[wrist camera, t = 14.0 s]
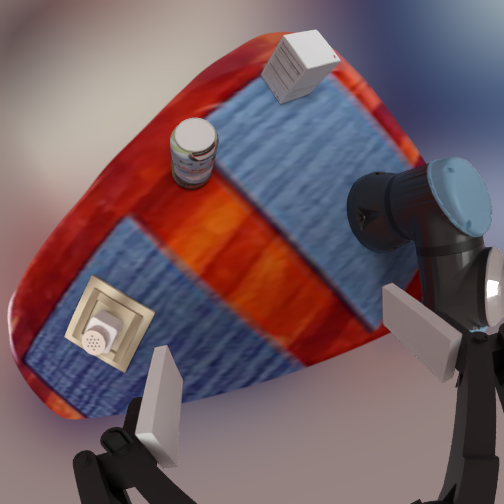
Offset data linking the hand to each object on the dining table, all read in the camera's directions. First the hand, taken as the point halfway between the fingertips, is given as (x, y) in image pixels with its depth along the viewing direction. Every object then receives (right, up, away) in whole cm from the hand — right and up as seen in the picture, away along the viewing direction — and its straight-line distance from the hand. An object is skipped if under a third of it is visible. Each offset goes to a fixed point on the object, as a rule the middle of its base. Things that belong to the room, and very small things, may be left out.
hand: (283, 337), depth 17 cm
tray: (-23, -6, +24) cm, 34 cm away
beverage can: (-11, +18, +28) cm, 35 cm away
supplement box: (+4, +36, +33) cm, 49 cm away
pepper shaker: (-23, -6, +23) cm, 33 cm away
